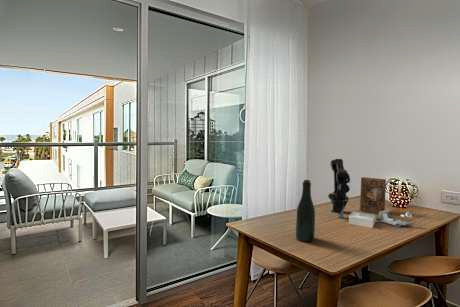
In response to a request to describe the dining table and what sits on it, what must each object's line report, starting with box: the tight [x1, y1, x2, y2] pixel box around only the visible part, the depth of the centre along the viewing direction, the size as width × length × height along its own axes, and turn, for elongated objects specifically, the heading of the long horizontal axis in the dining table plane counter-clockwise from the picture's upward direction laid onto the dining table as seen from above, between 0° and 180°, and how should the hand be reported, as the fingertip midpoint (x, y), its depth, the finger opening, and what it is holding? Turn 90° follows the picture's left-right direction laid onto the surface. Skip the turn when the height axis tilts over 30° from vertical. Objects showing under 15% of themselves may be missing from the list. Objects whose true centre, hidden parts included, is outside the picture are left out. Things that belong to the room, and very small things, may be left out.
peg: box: [337, 207, 345, 220], centre depth 195 cm, size 3×3×10 cm
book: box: [359, 177, 387, 214], centre depth 211 cm, size 16×6×25 cm, turn 58°
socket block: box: [348, 210, 376, 229], centre depth 185 cm, size 14×14×5 cm
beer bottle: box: [294, 179, 316, 243], centre depth 155 cm, size 10×10×33 cm
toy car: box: [375, 209, 413, 229], centre depth 184 cm, size 18×10×12 cm
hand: (340, 212), depth 195 cm, fingers open, 9 cm apart
